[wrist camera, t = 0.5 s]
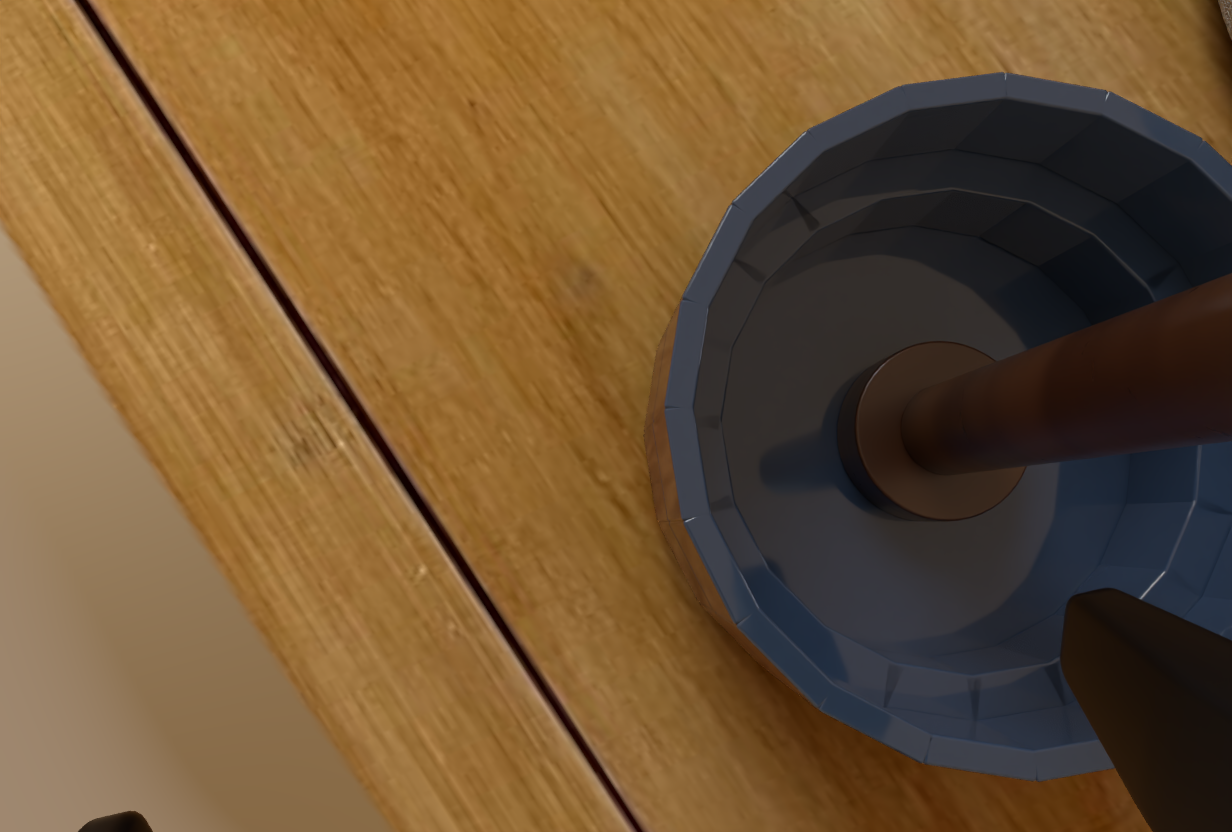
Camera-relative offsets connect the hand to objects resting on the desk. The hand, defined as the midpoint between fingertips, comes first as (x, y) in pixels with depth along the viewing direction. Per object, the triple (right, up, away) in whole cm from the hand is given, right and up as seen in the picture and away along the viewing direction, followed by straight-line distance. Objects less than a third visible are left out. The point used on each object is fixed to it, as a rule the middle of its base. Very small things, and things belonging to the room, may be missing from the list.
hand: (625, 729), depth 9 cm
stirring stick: (+8, +2, +15) cm, 17 cm away
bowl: (+8, +2, +16) cm, 18 cm away
